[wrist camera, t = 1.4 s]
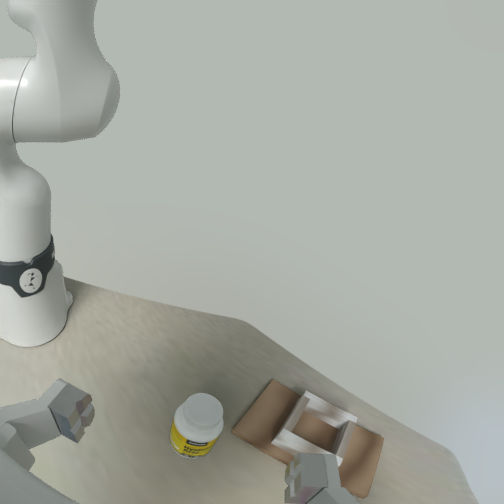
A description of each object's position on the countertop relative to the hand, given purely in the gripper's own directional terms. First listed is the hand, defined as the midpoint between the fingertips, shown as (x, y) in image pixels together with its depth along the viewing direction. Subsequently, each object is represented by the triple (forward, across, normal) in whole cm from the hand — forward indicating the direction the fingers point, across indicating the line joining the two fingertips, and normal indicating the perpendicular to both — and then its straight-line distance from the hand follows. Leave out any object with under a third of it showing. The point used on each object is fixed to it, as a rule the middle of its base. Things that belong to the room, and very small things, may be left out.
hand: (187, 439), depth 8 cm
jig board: (+19, -16, +23) cm, 34 cm away
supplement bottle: (+14, +1, +23) cm, 27 cm away
